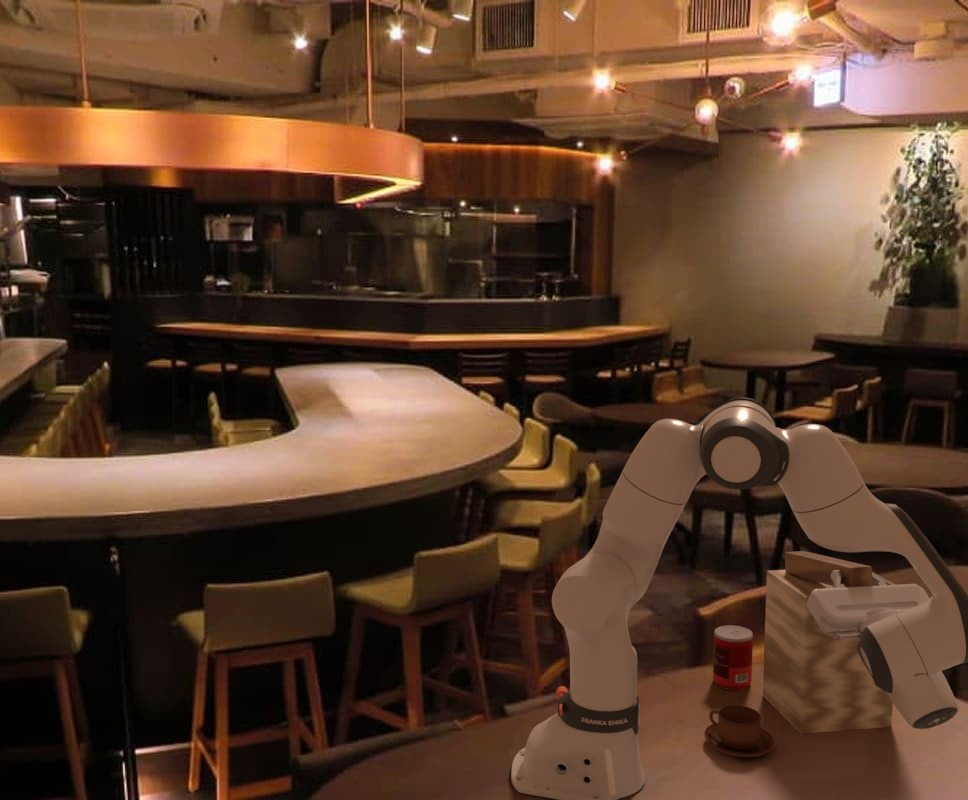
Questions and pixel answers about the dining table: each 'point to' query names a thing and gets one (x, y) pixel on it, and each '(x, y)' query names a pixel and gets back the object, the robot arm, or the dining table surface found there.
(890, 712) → the zigzag patterned box
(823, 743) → the dining table surface
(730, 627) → the canned food
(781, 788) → the dining table surface
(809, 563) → the walnut block
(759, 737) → the cup and saucer
